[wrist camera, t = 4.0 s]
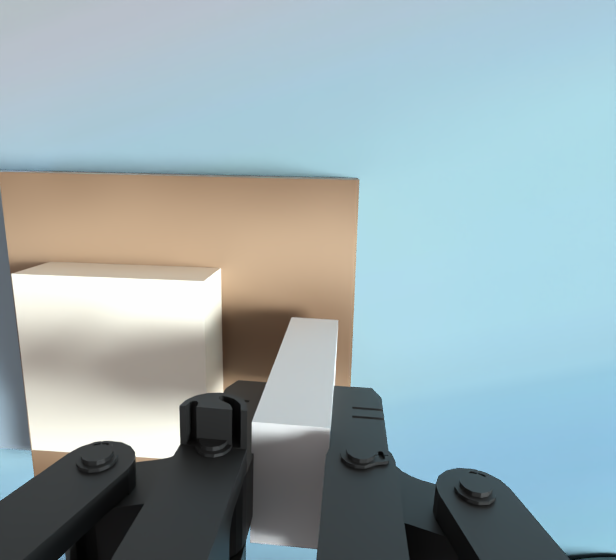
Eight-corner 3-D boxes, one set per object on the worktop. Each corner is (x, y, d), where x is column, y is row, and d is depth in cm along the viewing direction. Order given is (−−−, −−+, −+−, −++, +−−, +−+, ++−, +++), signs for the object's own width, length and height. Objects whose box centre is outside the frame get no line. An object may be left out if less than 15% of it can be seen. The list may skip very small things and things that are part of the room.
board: (345, 463, 21) (345, 510, 18) (77, 445, 22) (35, 487, 19) (357, 178, 18) (359, 180, 16) (51, 171, 19) (-2, 171, 16)
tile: (224, 429, 18) (208, 461, 16) (65, 419, 18) (32, 449, 16) (220, 268, 17) (203, 281, 15) (50, 261, 17) (11, 273, 15)
